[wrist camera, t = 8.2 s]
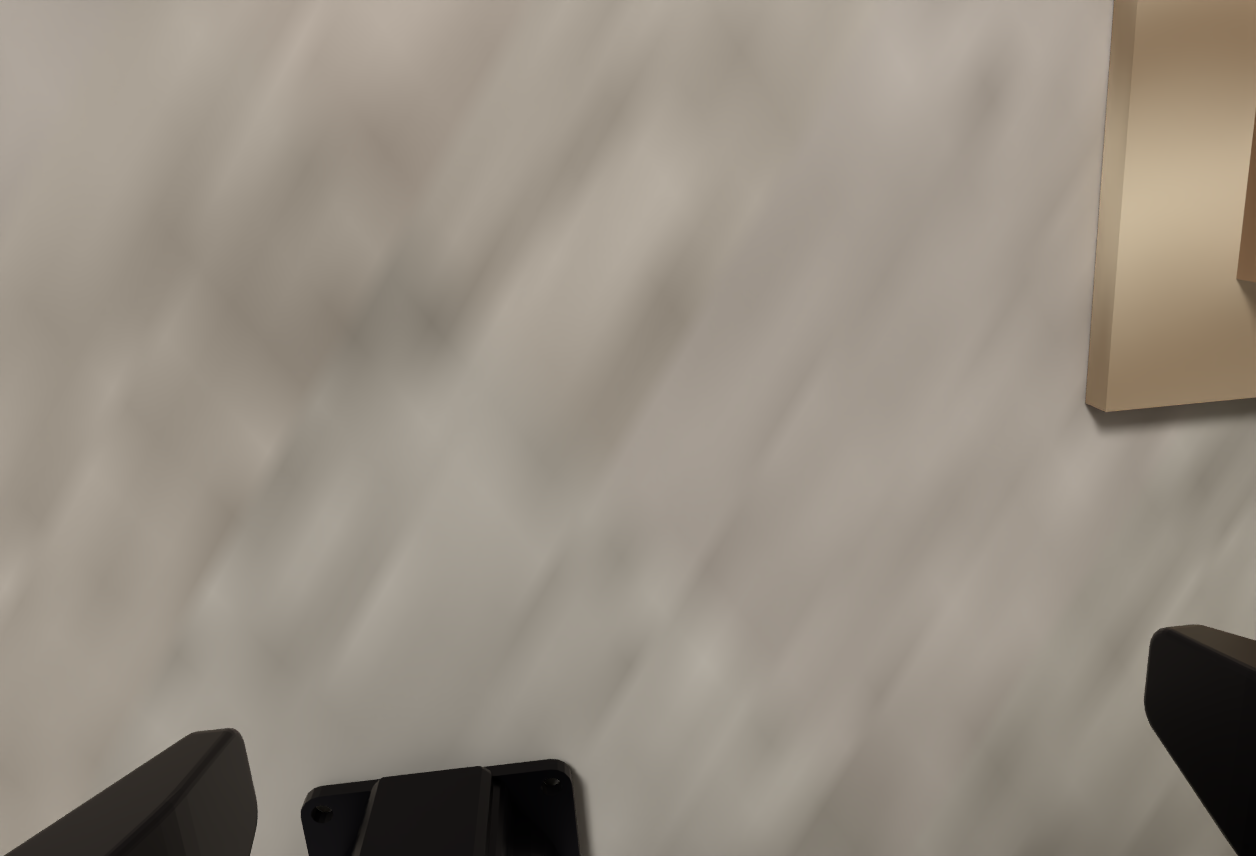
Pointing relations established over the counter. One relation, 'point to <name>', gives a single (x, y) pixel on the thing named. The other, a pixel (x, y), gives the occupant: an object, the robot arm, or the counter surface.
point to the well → (1177, 208)
